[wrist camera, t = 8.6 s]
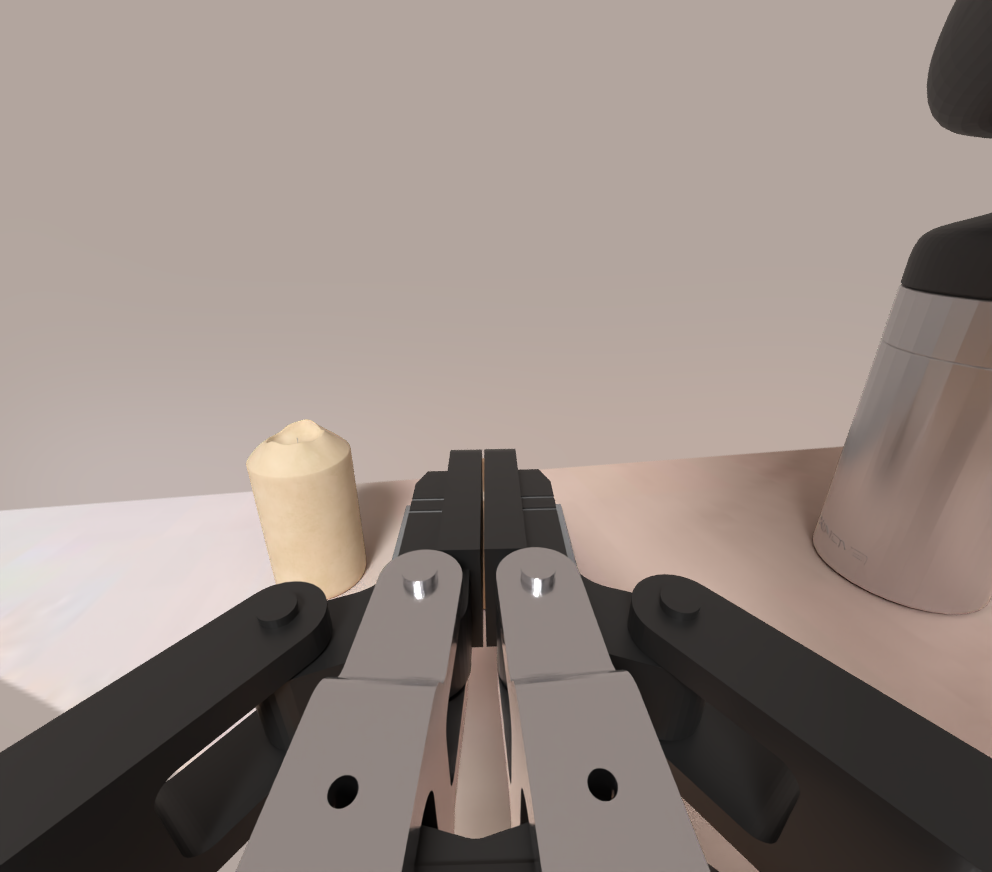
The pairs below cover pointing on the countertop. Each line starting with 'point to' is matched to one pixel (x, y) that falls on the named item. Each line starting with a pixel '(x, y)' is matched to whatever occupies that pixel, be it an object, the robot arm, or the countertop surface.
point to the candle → (309, 507)
